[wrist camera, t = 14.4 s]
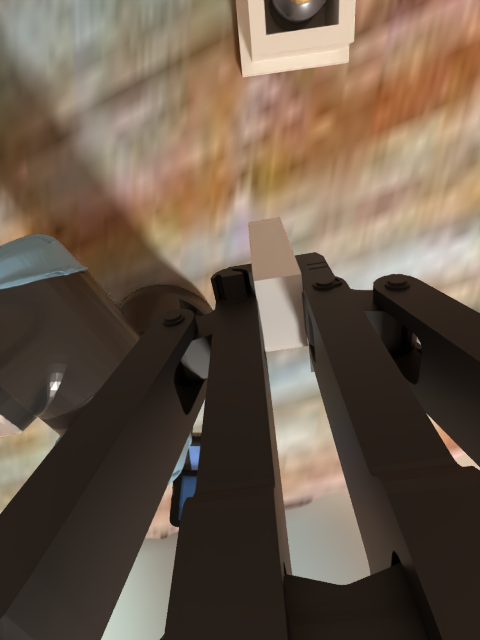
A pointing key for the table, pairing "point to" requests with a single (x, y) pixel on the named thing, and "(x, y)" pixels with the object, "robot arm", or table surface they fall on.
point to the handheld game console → (185, 482)
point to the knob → (294, 12)
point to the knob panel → (293, 38)
